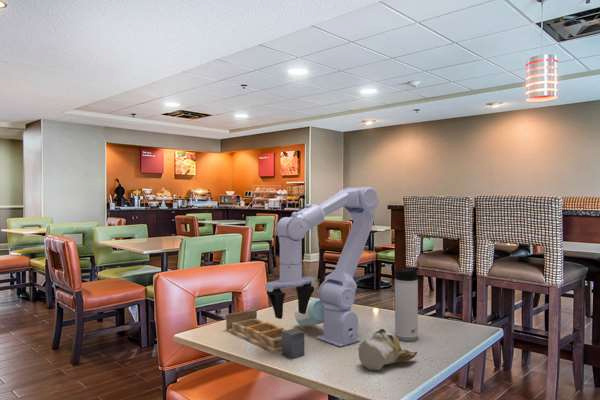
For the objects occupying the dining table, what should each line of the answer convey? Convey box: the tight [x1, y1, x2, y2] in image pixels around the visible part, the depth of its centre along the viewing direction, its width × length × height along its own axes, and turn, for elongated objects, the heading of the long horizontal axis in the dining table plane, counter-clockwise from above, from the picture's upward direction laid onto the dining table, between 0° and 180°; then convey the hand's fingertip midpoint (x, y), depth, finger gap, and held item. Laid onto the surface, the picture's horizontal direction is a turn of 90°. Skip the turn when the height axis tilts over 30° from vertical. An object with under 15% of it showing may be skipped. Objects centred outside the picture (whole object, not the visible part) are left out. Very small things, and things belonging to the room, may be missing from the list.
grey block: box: [281, 328, 305, 360], centre depth 109 cm, size 4×4×6 cm
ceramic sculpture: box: [357, 328, 418, 372], centre depth 103 cm, size 11×9×15 cm
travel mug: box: [394, 266, 420, 342], centre depth 122 cm, size 6×7×20 cm
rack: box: [225, 308, 287, 354], centre depth 123 cm, size 24×10×5 cm, turn 39°
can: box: [294, 298, 324, 327], centre depth 129 cm, size 7×7×12 cm
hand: (290, 315), depth 112 cm, fingers open, 7 cm apart
